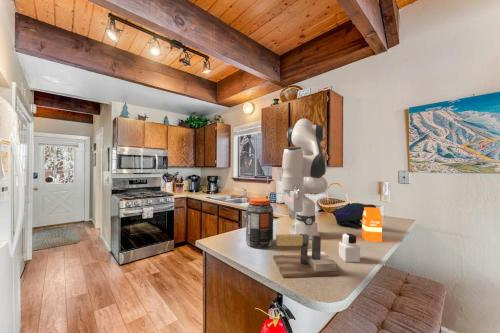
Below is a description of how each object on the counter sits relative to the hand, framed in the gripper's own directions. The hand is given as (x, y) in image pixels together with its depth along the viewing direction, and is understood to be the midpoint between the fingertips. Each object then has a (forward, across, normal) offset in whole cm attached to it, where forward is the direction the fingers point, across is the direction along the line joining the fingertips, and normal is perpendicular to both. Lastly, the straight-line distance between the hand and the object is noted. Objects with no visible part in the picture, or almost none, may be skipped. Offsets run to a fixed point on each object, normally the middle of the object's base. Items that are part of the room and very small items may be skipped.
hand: (292, 218), depth 89 cm
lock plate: (+23, +7, -7) cm, 25 cm away
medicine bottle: (+23, +15, -32) cm, 42 cm away
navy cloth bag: (+23, +73, -63) cm, 99 cm away
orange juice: (+23, +45, -60) cm, 78 cm away
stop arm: (+13, +7, -2) cm, 15 cm away
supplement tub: (+23, +34, +11) cm, 43 cm away
